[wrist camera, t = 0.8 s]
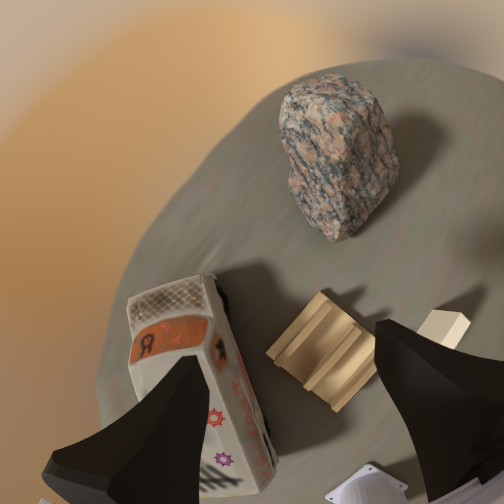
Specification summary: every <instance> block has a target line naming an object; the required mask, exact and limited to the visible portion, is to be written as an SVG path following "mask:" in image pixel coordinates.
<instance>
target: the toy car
mask: <svg viewBox="0 0 504 504" xmlns="http://www.w3.org/2000/svg"><path fill="white" fill-rule="evenodd" d="M216 280H218V279H217V278H216V276H215V275H214V274H202V275H200V274H199V275H195V276H192V277H188V278H184V279H180V280H177V281H174V282H170V283H167V284H164V285H161V286H158V287H155V288H153V289H150V290H147V291H145V292H142V293H140V294H138V295H136V296H133V297H131V298H129V299H128V305H127V315H128V320H129V325H130V331H131V336H132V341H133V343H132V346H131V350H130V357H129V363H128V368H129V372H130V375H131V379H132V382H133V385H134V388H135V391H136V394H137V397H138V399H139V402H140V401H141V400H142V399H143V398H144V397H145V396H146V395H147V394H148V393H149V392H150V391H151V390H152V389H153V388H154V387H155V386H156V385H157V384H158V383H159V382H160V380H161V379H162V378H163V377H164V376H165V375H166V374H167V373H168V371H169V370H170V369H171V368H172V367H173V366H174V365H175V363H176V362H177V361H178V360H179V359H180V358H181V357H182V356H189V355H197V358H198V361H199V363H200V366H201V369H202V372H203V374H204V377H205V380H206V382H207V385H208V387H209V390H210V403H209V415H208V421H207V426H206V432H205V437H204V443H203V448H202V454H201V461H200V479H199V497H202V498H205V497H229V496H241V495H250V494H258V493H260V492H262V491H263V490H264V489H265V488H266V487H267V485H268V484H269V483H270V482H271V480H272V479H273V478H274V476H275V473H276V465H277V464H279V458H278V457H277V455H276V452H275V449H274V448H273V447H272V445H271V442H270V429H269V427H268V421H267V420H266V418H265V416H264V414H262V413H261V410H260V407H259V405H258V402H257V399H256V396H255V394H254V391H253V388H252V385H251V383H250V380H249V377H248V374H247V372H246V369H245V366H244V363H243V360H242V357H241V355H240V352H239V349H238V347H237V344H236V341H235V339H234V336H233V333H232V331H231V328H230V325H229V323H228V320H227V318H228V317H229V314H230V312H229V306H228V299H227V297H226V295H225V294H224V292H223V291H222V289H221V288H220V286H218V285H215V282H214V281H216Z"/></svg>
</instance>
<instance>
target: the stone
mask: <svg viewBox="0 0 504 504" xmlns="http://www.w3.org/2000/svg"><path fill="white" fill-rule="evenodd" d="M279 125H280V129H279V135H280V138H281V142H282V145H283V148H284V149H285V150H286V152H287V154H289V156H290V161H291V166H292V169H291V171H290V173H289V176H290V177H289V179H288V184H289V191H290V193H291V195H292V196H293V197H294V199H295V200H296V202H297V204H298V206H299V208H300V209H301V211H302V213H303V215H304V216H305V217H306V219H307V220H308V221H309V223H310V224H311V225H312V226H313V227H314V228H315V229H316V230H317V231H318V232H319V233H320V234H322V235H324V236H325V237H326V238H327V239H328V240H329V241H330V242H335V243H337V242H340V241H343V240H345V239H347V238H349V237H350V236H351V235H352V234H353V233H354V232H356V231H357V230H358V229H359V227H360V226H361V225H362V224H363V223H364V222H365V221H366V220H367V218H368V217H369V215H370V214H371V213H372V211H373V210H374V209H375V208H377V207H378V206H379V204H380V203H381V202H382V201H383V199H384V197H385V196H386V195H387V194H388V193H389V192H390V191H391V190H392V189H393V188H394V186H395V184H396V183H397V181H398V179H399V168H400V163H399V161H398V155H397V152H396V149H395V146H394V145H395V140H394V137H393V133H392V131H391V129H390V127H389V126H388V123H387V119H386V118H385V116H384V114H383V111H382V109H381V107H380V105H379V103H378V100H377V99H376V97H375V96H374V95H373V94H372V92H371V91H369V90H368V89H367V88H366V87H364V86H363V85H362V84H360V83H359V82H357V81H355V80H352V79H350V78H348V77H347V76H346V75H343V74H338V73H329V74H327V75H325V76H323V77H322V78H319V79H310V80H306V81H303V82H301V83H299V84H296V85H295V86H294V87H292V88H291V89H290V90H288V92H287V93H286V95H285V98H284V101H283V102H282V104H281V112H280V116H279Z"/></svg>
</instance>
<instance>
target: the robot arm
mask: <svg viewBox="0 0 504 504" xmlns="http://www.w3.org/2000/svg"><path fill="white" fill-rule="evenodd" d="M374 363H375V366H376V368H377V371H378V373H379V376H380V378H381V381H382V382H383V384H384V386H385V388H386V390H387V391H388V393H389V395H390V397H391V398H392V400H393V402H394V403H395V405H396V407H397V409H398V411H399V412H400V414H401V416H402V418H403V420H404V422H405V424H406V426H407V428H408V431H409V433H410V436H411V439H412V441H413V444H414V447H415V450H416V453H417V456H418V459H419V463H420V466H421V470H422V474H423V478H424V482H425V487H426V492H427V497H428V504H504V361H498V360H491V359H486V358H481V357H477V356H473V355H469V354H466V353H463V352H460V351H456V350H454V349H451V348H448V347H446V346H444V345H441V344H439V343H436V342H434V341H432V340H430V339H428V338H426V337H424V336H422V335H420V334H418V333H416V332H414V331H412V330H410V329H408V328H406V327H405V326H403V325H401V324H399V323H397V322H395V321H393V320H390V319H387V320H383V321H379V322H376V329H375V350H374ZM209 403H210V390H209V387H208V385H207V382H206V380H205V377H204V374H203V372H202V369H201V366H200V363H199V361H198V358H197V355H189V356H182V357H181V358H180V359H179V360H178V361H177V362H176V363H175V365H174V366H173V367H172V368H171V369H170V370H169V371H168V373H167V374H166V375H165V376H164V377H163V378H162V379H161V380H160V382H159V383H158V384H157V385H156V386H155V387H154V388H153V389H152V390H151V391H150V392H149V393H148V394H147V395H146V396H145V397H144V398H143V399H142V400H141V401H140V402H139V403H138V404H137V405H136V406H134V407H133V408H132V409H131V410H130V411H128V412H127V413H126V414H125V415H123V416H122V417H121V418H119V419H118V420H117V421H115V422H113V423H112V424H110V425H109V426H107V427H106V428H104V429H103V430H101V431H100V432H98V433H96V434H94V435H92V436H90V437H88V438H86V439H84V440H82V441H80V442H77V443H75V444H72V445H70V446H67V447H64V448H62V449H59V450H56V451H54V452H53V453H52V455H51V457H50V459H49V461H48V463H47V465H46V467H45V469H44V471H43V473H42V474H41V475H42V478H43V480H44V482H45V483H46V484H47V485H48V486H49V487H50V488H51V489H52V490H54V491H55V492H56V493H57V494H58V495H60V496H61V497H62V498H63V499H65V500H66V501H67V502H68V503H70V504H199V479H200V461H201V454H202V448H203V443H204V437H205V432H206V426H207V421H208V415H209ZM369 468H371V469H369ZM400 485H401V486H400ZM407 488H408V486H407V485H406V484H405V483H403V482H401V481H399V480H397V479H396V478H394V477H392V476H390V475H389V474H387V473H385V472H383V471H382V470H380V469H378V468H377V467H375V466H373V465H372V464H370V463H368V464H366V465H364V466H363V467H362V468H361V469H360V470H358V471H357V472H356V473H355V474H353V475H352V476H351V477H350V478H348V479H347V480H346V481H344V482H343V483H342V484H340V485H339V486H338V487H336V488H335V489H334V490H332V491H331V492H330V493H328V494H327V495H326V496H325V498H326V499H327V500H329V501H331V502H333V503H335V504H409V503H408V501H407V499H406V496H405V494H404V491H405V490H406V489H407ZM39 504H55V503H53V502H51V501H49V500H46V499H44V498H42V499H41V501H40V503H39Z"/></svg>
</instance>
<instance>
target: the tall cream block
mask: <svg viewBox="0 0 504 504" xmlns="http://www.w3.org/2000/svg"><path fill="white" fill-rule="evenodd" d="M469 325H470V322H469V320H468V319H467V318H466V317H465V316H464V315H463V314H462V313H460V312H451V311H441V310H432V311H431V313H430V314H429V316H428V317H427V319H426V320H425V322H424V323H423V324H422V326H421V327H420V329H419V330H418V331H417V333H418V334H420V335H422V336H424V337H426V338H428V339H430V340H432V341H434V342H436V343H439V344H441V345H444V346H446V347H448V348H451V349H454V348H455V347H456V345H457V344H458V342H459V341H460V339H461V338H462V336H463V335H464V333H465V331H466V330H467V328H468V327H469Z"/></svg>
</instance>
